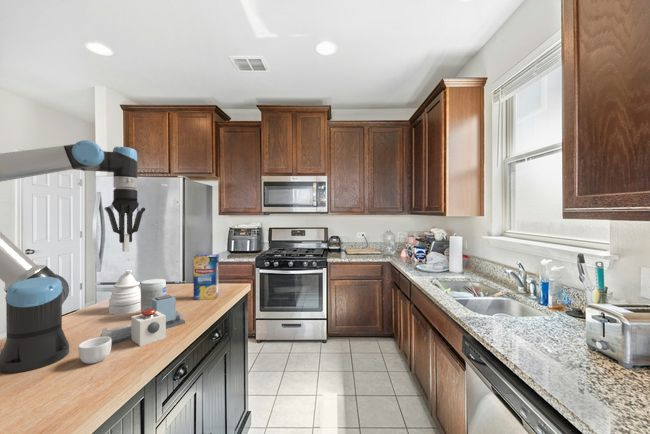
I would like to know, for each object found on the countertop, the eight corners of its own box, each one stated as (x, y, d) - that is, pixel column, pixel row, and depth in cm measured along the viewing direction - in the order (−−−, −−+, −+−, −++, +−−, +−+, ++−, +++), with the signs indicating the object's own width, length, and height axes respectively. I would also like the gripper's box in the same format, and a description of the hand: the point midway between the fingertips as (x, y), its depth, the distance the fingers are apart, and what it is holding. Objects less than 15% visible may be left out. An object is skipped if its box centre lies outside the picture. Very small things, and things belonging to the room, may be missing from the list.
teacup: (100, 366, 83) (100, 347, 83) (71, 367, 82) (71, 348, 82) (121, 350, 93) (121, 333, 93) (95, 350, 92) (95, 334, 92)
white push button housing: (140, 346, 95) (140, 322, 95) (131, 339, 100) (131, 316, 100) (166, 338, 101) (166, 315, 101) (156, 332, 107) (156, 310, 107)
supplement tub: (169, 315, 125) (169, 281, 125) (143, 320, 119) (143, 284, 118) (162, 309, 132) (162, 277, 132) (138, 314, 126) (138, 280, 125)
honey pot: (149, 307, 135) (149, 269, 135) (118, 316, 123) (118, 274, 123) (133, 303, 141) (133, 266, 141) (102, 311, 129) (102, 271, 129)
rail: (109, 344, 96) (109, 335, 96) (100, 336, 103) (100, 328, 103) (185, 323, 116) (185, 315, 116) (173, 317, 122) (173, 310, 122)
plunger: (144, 335, 98) (144, 313, 98) (139, 332, 101) (139, 310, 101) (158, 331, 101) (158, 310, 101) (153, 328, 104) (153, 307, 104)
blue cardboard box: (216, 299, 149) (216, 256, 149) (193, 300, 147) (193, 256, 147) (218, 295, 156) (218, 254, 156) (197, 296, 154) (197, 254, 154)
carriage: (156, 324, 110) (156, 299, 110) (151, 321, 113) (151, 297, 113) (175, 319, 116) (175, 296, 116) (170, 316, 119) (170, 294, 118)
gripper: (107, 187, 103) (107, 253, 103) (148, 189, 112) (148, 250, 113) (101, 188, 107) (102, 252, 108) (141, 190, 117) (141, 248, 117)
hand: (125, 251), depth 110 cm, fingers closed
